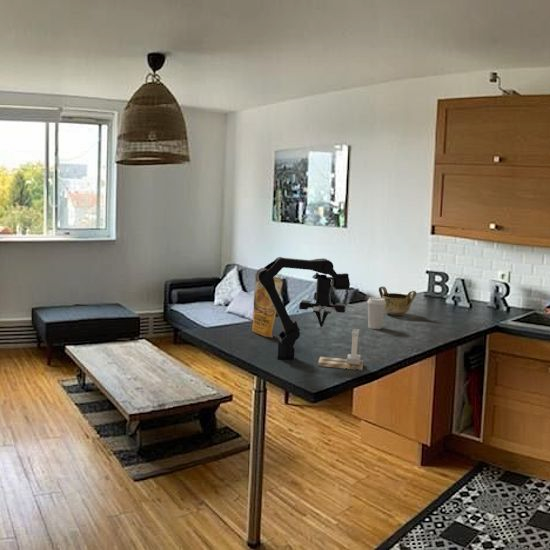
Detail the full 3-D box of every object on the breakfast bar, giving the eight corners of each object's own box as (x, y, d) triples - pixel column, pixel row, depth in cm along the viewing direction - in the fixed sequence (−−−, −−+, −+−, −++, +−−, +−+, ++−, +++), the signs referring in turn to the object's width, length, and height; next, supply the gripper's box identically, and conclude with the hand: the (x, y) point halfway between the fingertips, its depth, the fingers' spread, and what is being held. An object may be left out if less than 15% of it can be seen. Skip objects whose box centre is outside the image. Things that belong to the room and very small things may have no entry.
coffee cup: (383, 326, 317) (385, 297, 314) (384, 330, 307) (387, 301, 305) (364, 324, 318) (366, 296, 315) (365, 329, 308) (367, 299, 306)
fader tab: (346, 363, 241) (348, 332, 239) (347, 358, 248) (349, 328, 246) (359, 364, 240) (361, 333, 238) (360, 359, 247) (362, 329, 245)
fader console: (317, 365, 242) (318, 362, 242) (320, 360, 251) (320, 356, 250) (362, 370, 240) (362, 366, 239) (363, 364, 248) (363, 360, 247)
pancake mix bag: (258, 328, 299) (260, 272, 295) (281, 337, 284) (284, 278, 280) (246, 330, 295) (249, 272, 291) (269, 339, 280) (272, 278, 276)
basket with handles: (419, 315, 347) (422, 289, 344) (406, 320, 333) (408, 293, 331) (384, 309, 360) (386, 284, 358) (370, 313, 347) (372, 287, 345)
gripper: (347, 288, 257) (345, 324, 259) (303, 284, 260) (301, 320, 262) (345, 292, 246) (343, 330, 248) (300, 289, 249) (298, 326, 251)
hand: (321, 326), depth 253 cm, fingers closed
